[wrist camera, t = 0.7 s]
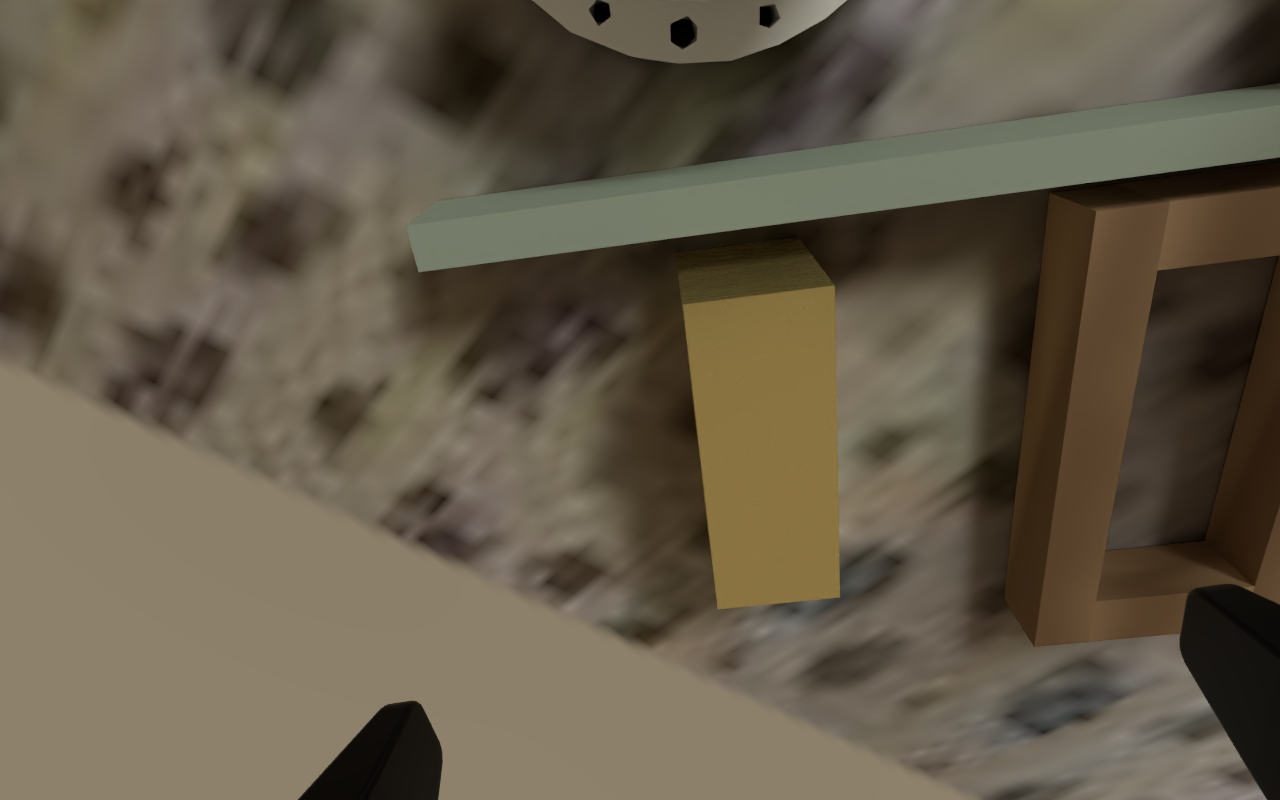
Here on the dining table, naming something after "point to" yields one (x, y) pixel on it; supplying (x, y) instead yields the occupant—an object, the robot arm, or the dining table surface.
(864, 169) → the green u-shaped frame
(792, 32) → the mechanical component
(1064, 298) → the rectangular frame
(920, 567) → the dining table surface
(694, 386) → the block
